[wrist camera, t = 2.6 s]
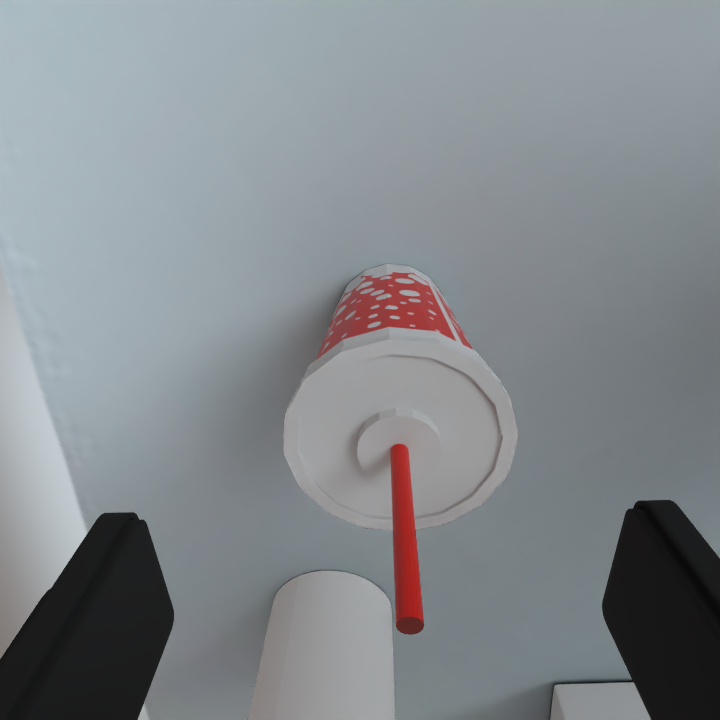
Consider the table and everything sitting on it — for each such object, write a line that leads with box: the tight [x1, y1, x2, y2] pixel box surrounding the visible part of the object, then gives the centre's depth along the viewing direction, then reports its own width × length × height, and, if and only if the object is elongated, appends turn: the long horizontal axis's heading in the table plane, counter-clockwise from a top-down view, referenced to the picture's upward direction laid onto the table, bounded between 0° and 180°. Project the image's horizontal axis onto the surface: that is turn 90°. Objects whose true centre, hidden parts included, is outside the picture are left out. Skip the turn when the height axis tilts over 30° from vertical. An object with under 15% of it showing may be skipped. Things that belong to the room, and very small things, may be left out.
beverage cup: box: [284, 264, 519, 635], centre depth 15 cm, size 6×6×14 cm
